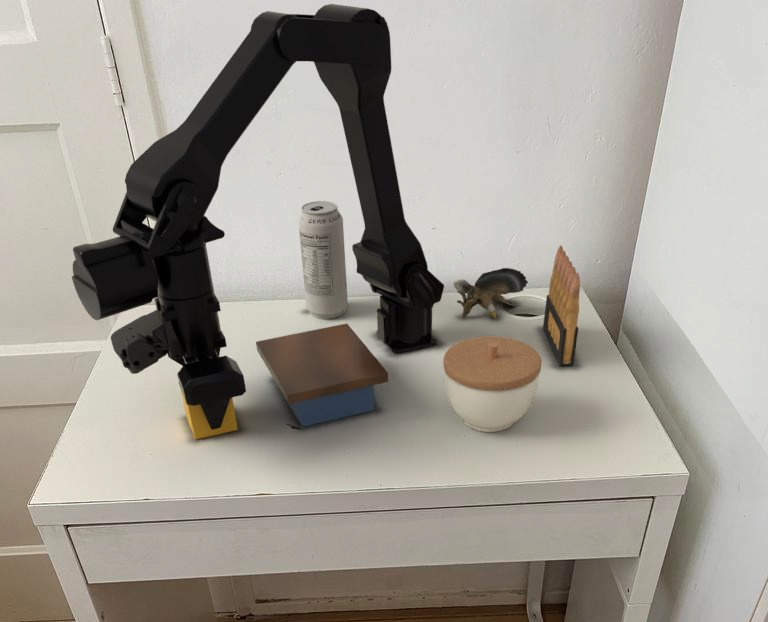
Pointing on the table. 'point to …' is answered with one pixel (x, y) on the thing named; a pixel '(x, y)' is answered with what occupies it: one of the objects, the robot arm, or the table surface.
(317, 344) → the board
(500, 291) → the brown legged piece
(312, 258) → the energy drink can
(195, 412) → the yellow block
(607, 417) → the table surface
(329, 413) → the blue box
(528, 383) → the trinket box
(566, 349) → the ammunition clip
